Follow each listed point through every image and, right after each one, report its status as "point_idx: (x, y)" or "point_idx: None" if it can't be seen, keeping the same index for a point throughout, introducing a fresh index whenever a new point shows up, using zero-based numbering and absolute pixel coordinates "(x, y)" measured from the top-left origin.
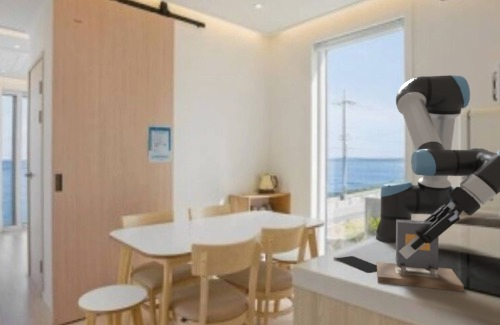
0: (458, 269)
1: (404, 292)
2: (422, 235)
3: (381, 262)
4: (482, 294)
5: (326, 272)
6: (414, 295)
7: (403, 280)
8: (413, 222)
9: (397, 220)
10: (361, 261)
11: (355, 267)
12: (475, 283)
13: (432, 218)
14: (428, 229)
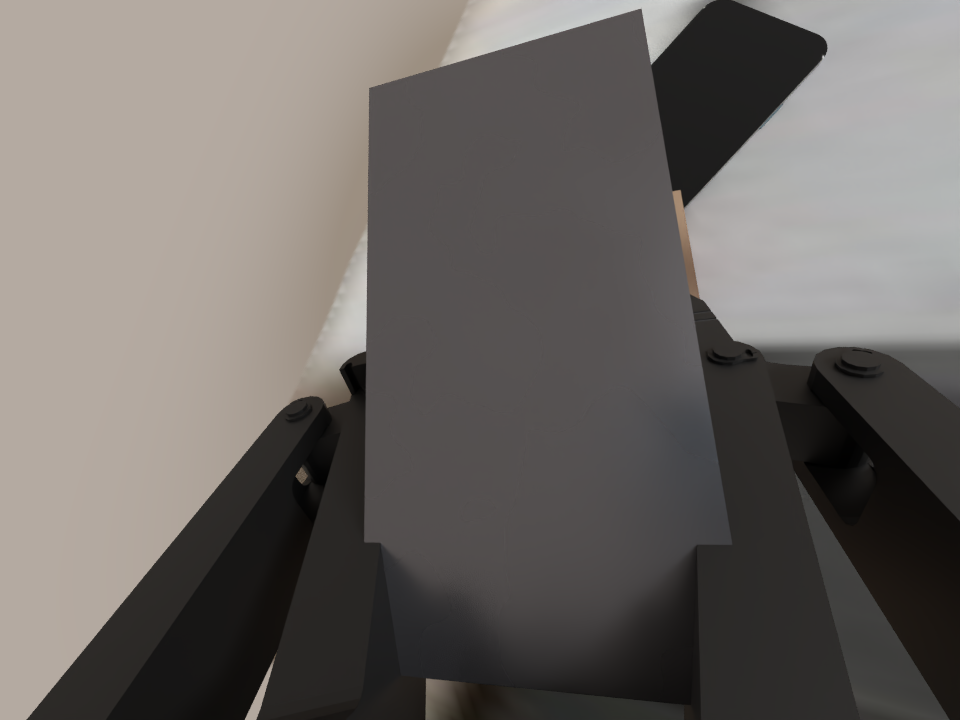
0: (924, 711)
1: (354, 352)
2: (297, 403)
3: (679, 214)
4: (436, 685)
5: (475, 54)
6: (335, 386)
7: None
8: (437, 272)
9: (531, 49)
10: (724, 118)
11: None
12: (607, 717)
13: (704, 671)
14: (332, 476)
